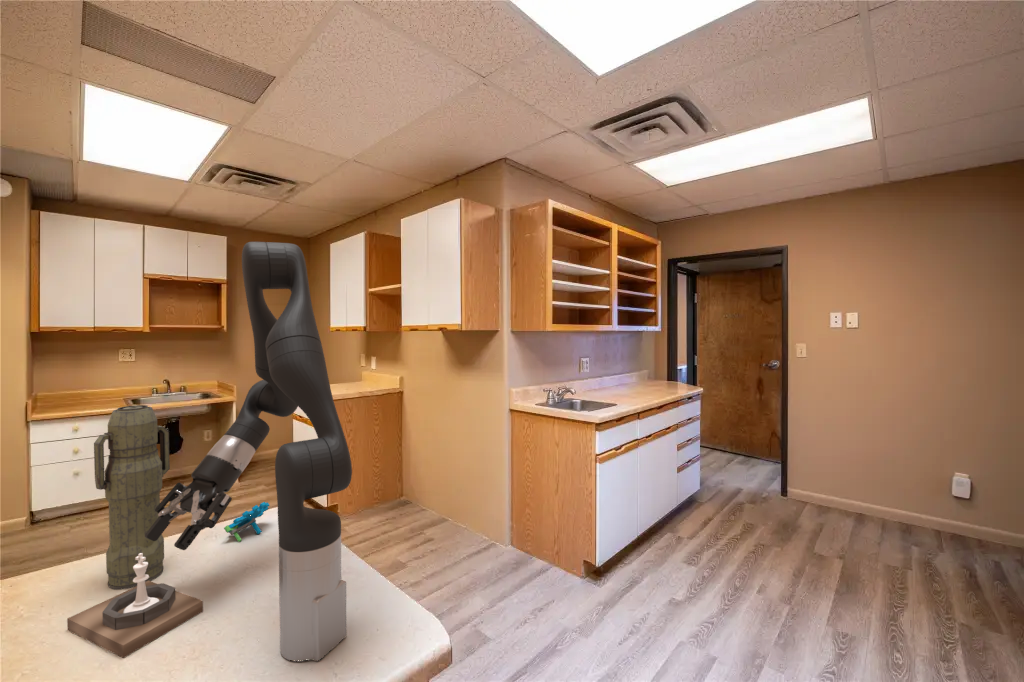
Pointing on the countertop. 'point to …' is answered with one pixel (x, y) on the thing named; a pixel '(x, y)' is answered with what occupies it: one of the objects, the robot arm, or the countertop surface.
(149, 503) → the thermos
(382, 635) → the countertop surface
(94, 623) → the socket board
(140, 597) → the chess piece
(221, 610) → the countertop surface
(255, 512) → the blue and green toy
